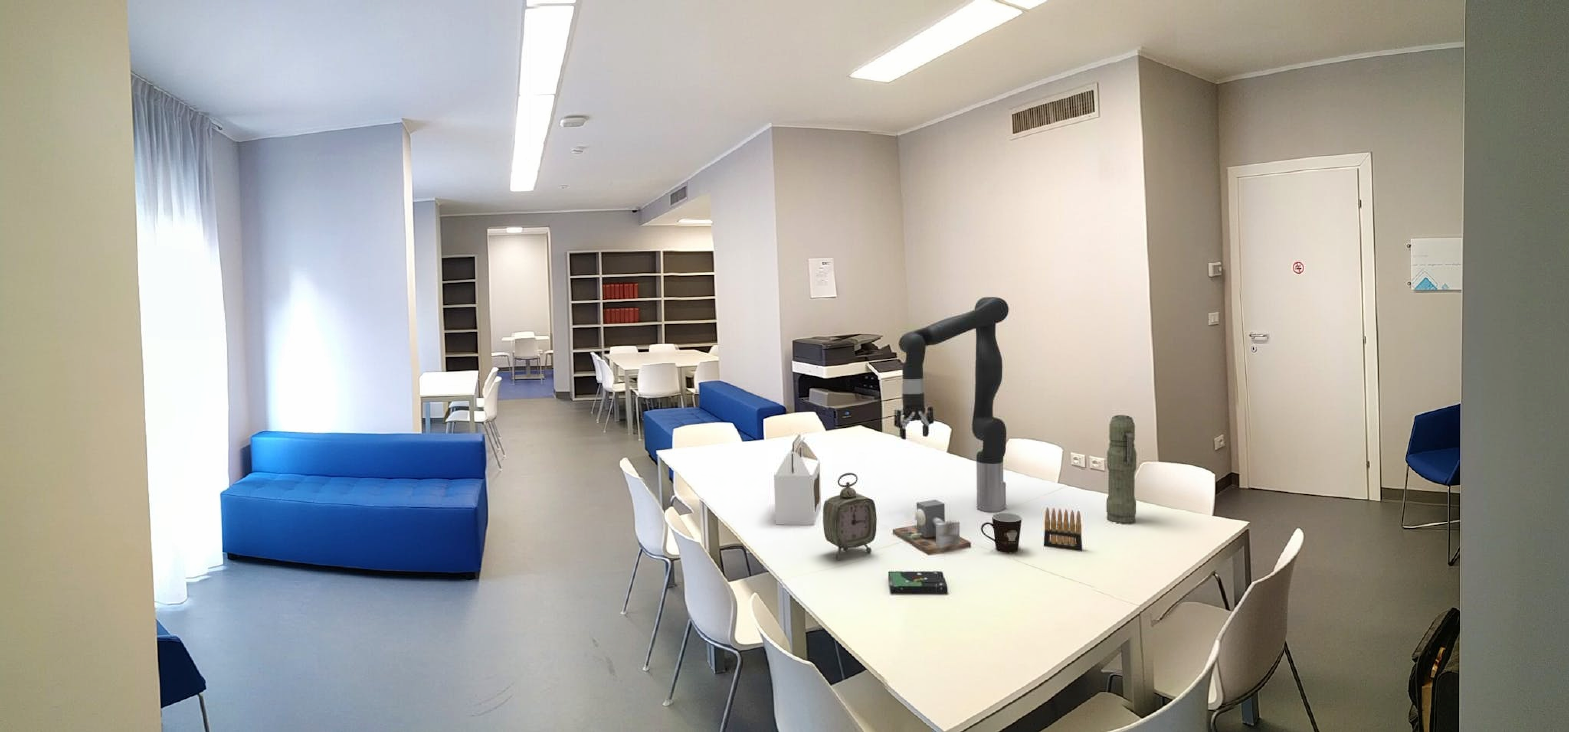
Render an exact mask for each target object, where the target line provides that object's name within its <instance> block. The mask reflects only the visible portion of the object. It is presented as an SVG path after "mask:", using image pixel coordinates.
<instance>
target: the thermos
mask: <svg viewBox="0 0 1569 732" xmlns="http://www.w3.org/2000/svg"><path fill="white" fill-rule="evenodd" d="M1108 426H1109V429H1108V431H1109V433H1108V434H1109V435H1108V436H1109V437H1108V438H1109V443H1108V444H1109V445H1108V449H1107V452H1106V468H1107V470H1108V482H1107V483H1108V486H1107V487H1108V490H1107V491H1108V492H1107V494H1108V496H1107V498H1106V510H1105V511H1106V520H1107V521H1108V522H1110V521H1111V523H1113V522H1116V523H1115V524H1118V523H1121V524H1120V525H1131V523H1132V524H1134V522H1135V523H1136V515H1137V500H1136V497H1135V483H1136V481H1135V479H1136V478H1135V477H1136V475H1135V474H1136V470H1137V456H1138V455H1137V451H1136V447H1135V446H1136V445H1135V439H1136V437H1135V435H1136V433H1135V429H1136V428H1135V427H1136V424H1135V421H1134V418H1133V417H1131V416H1130V415H1125V414H1122V415H1121V414H1119V415H1114V416H1112V417H1111V419H1110V422H1109V425H1108Z"/></svg>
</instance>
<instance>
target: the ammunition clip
mask: <svg viewBox="0 0 1569 732" xmlns="http://www.w3.org/2000/svg"><path fill="white" fill-rule="evenodd" d="M1068 512H1069V511H1068V510H1067V509H1065V510H1064V513H1062V510H1061V508H1059V509H1058V513H1057V515H1056V510H1055V507H1053V508H1052V510H1051V517H1050V509H1049V507H1046V509H1045V516H1044V533H1043V534H1044V535H1043V536H1044V537H1043V547H1044V548H1045V547H1047V548H1055V549H1062V550H1070V551H1077V552H1081V551H1082V550H1083V540H1082V539H1083V537H1082V532H1083V531H1082V520H1081V518H1082V517H1081V513H1080V510H1077V513H1076V520H1075V512H1074V510H1073V509H1072V510H1071V511H1070V516H1069V513H1068ZM1062 514H1063V515H1062ZM1056 516H1057V517H1056ZM1069 517H1070V518H1069ZM1050 518H1051V519H1050Z"/></svg>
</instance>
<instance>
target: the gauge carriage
mask: <svg viewBox="0 0 1569 732" xmlns="http://www.w3.org/2000/svg"><path fill="white" fill-rule="evenodd" d="M945 511H946V509H945V503H944V502H942V501H940V500H937V499H933V500H932V499H930V500H926V501H925V500H924V501H917V502H916V511H915V520H916V525H917V534H913V535H911V537H915V536H920V535H921V536H923V537H924V538H930V537H935V536H936V523H940V522H946V520H945V518H946V517H945V515H946V513H945Z"/></svg>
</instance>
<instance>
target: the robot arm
mask: <svg viewBox="0 0 1569 732" xmlns="http://www.w3.org/2000/svg"><path fill="white" fill-rule="evenodd" d="M1009 308H1010V307H1009V305H1008V303H1007V302H1006V301H1005V300H1004V299H1003V298H1001V297H996V296H985V297H981V298H979V300H977V302H976V303H975V305H974V309H972V310H970V311H968V312H965V313H962V314H958V315H955V316H951V317H947V318H944V319H942V320H940V321H937V322H935V323H932V324H930V325H927V326H925V327H922V328H919V329H915V330H912V331H908V332H906V333H904V334H903V335H902V336H901V337H900V339H899V341H898V347H899V349H900V350H901V351H902V353H905V361H904V362H903V363H902V367H901V368H902V373H901V374H902V381H901V382H902V383H901V395H902V396H901V397H902V398H901V399H902V403H901V404H902V409H894V413H893V415H894V417H893V418H894V420H893V426H894V427H896V428H898V429H899V437H900V438H901V439H902V440H903V441H904V440H906V439H907V429H906V427H907V426H908V424H910V423H911V422H914V421H918V422H919V421H920V423H921V424H922V436H923V437H926V438H927V437H928V436H929V433H930V425H932V424H934V423H935V420H934V408H933V406H929V405H926V406H925V402H926V401H925V398H926V397H925V382H924V366H923V365H924V361H925V355H926V348H927V347H928V346H936V345H938V344H939V345H940V344H941V343H943V342H946V341H948V340H951V339H953V338H955V337H957V336H960V335H962V334H965V333H966V332H970V331H972V330H975V367H974V368H975V369H974V370H975V371H974V372H975V374H974V379H975V381H974V382H975V383H974V384H975V385H974V406H973V412H972V421H971V430H972V434H973V437H974V438H976V439H977V440H979V441H982V449H981V450H980V451H978V452H977V453H976V457H975V458H976V459H975V460H976V464H975V465H976V466H975V467H976V509H978V510H979V511H983V512H988V513H996V512H1001V511H1003V510H1005V509H1007V491H1006V490H1007V483H1006V482H1005V481H1004V458H1005V454H1006V450H1007V427H1006V423H1005V422H1004V421H1003V420H1002V419H1001V418H998V417H994V400H995V397H996V395H997V392H998V391H999V388H1000V386H1001V384H1002V381H1003V357H1002V354H1001V350H1000V348H999V345H998V341H997V338H996V337H997V336H996V329H997V326H996V325H997V324H999V323H1002V322H1003V321H1005V319H1006V318H1007V317H1008V315H1009V311H1010V309H1009ZM925 413H926V417H925V415H924V414H925ZM902 415H903V417H902Z"/></svg>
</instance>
